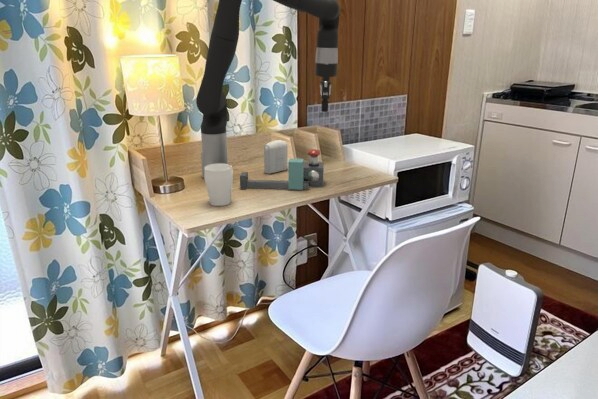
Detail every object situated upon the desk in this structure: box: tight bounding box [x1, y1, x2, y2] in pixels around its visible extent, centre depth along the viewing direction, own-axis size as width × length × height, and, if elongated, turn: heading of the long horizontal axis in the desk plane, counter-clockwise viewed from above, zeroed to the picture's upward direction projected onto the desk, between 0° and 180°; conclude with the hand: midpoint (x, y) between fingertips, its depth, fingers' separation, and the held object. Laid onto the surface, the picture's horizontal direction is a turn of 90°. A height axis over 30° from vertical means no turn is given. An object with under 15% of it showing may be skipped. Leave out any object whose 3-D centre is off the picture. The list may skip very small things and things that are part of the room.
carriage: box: [287, 158, 305, 191], centre depth 162 cm, size 5×4×10 cm
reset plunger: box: [307, 148, 321, 166], centre depth 166 cm, size 4×4×7 cm
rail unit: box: [239, 161, 325, 191], centre depth 166 cm, size 29×13×7 cm, turn 86°
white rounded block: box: [263, 139, 288, 175], centre depth 182 cm, size 10×4×12 cm, turn 134°
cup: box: [204, 163, 234, 207], centre depth 148 cm, size 9×9×12 cm
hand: (324, 109), depth 162 cm, fingers open, 8 cm apart
